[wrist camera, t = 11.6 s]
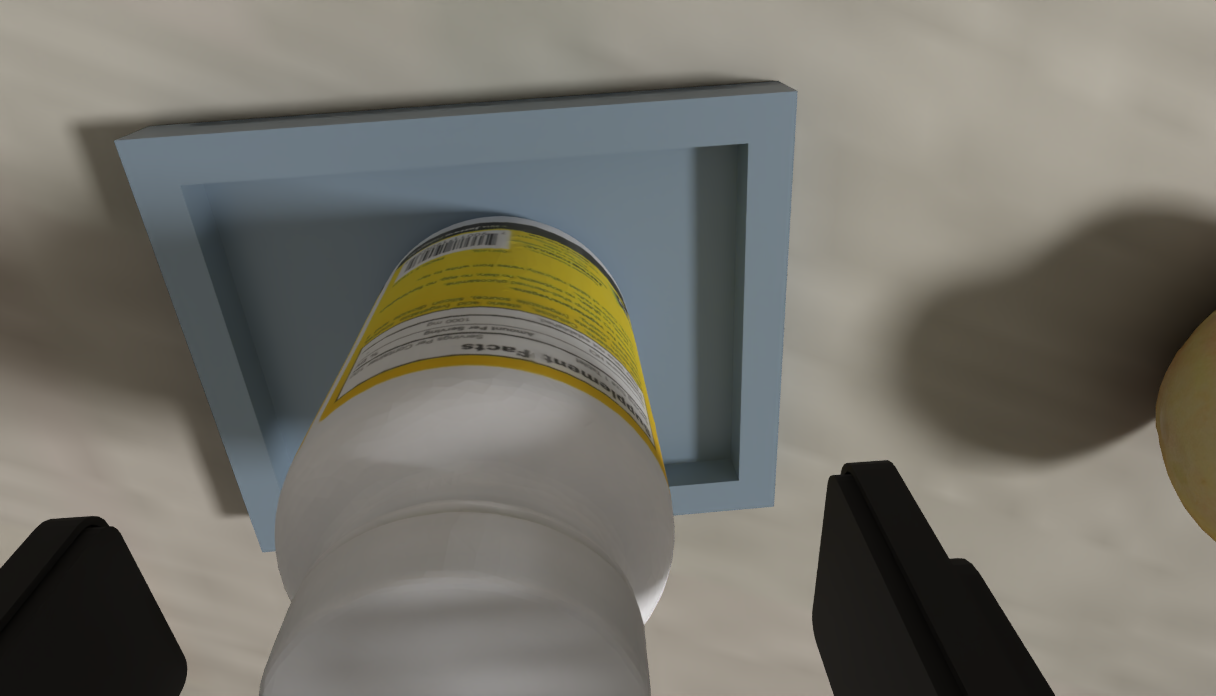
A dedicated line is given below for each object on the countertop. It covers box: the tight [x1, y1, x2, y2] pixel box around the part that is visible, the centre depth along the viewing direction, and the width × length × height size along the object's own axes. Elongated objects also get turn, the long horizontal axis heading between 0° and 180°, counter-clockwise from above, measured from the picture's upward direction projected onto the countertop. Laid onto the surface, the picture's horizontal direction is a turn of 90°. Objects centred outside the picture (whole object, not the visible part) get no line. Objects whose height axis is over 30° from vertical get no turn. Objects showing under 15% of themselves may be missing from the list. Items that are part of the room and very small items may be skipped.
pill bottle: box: [259, 216, 674, 696], centre depth 14 cm, size 6×6×11 cm
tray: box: [114, 81, 797, 552], centre depth 18 cm, size 11×14×2 cm
